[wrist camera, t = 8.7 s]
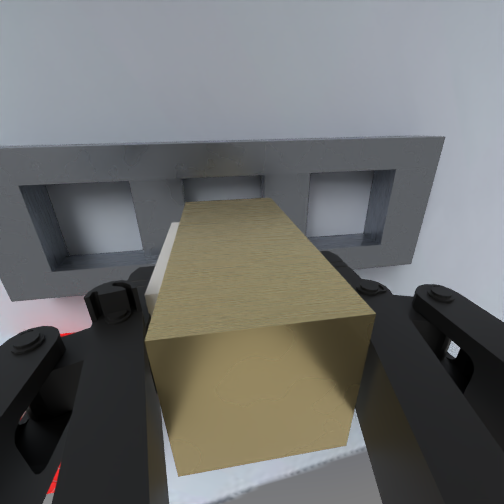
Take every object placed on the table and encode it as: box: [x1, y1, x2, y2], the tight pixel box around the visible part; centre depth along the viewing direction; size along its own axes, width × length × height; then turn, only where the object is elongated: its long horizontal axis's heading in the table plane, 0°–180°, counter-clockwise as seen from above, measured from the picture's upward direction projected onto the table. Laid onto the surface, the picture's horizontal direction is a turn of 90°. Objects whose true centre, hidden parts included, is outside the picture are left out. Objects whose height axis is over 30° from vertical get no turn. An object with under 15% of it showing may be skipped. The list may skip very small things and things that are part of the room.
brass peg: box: [145, 198, 376, 477], centre depth 10 cm, size 4×4×10 cm
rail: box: [0, 136, 445, 302], centre depth 19 cm, size 30×10×2 cm, turn 91°
